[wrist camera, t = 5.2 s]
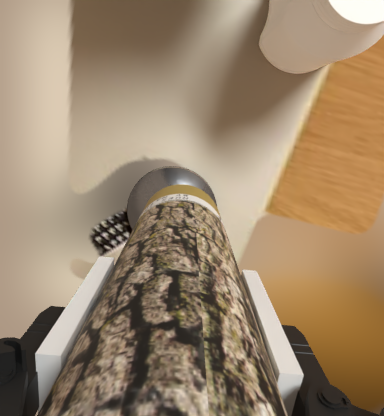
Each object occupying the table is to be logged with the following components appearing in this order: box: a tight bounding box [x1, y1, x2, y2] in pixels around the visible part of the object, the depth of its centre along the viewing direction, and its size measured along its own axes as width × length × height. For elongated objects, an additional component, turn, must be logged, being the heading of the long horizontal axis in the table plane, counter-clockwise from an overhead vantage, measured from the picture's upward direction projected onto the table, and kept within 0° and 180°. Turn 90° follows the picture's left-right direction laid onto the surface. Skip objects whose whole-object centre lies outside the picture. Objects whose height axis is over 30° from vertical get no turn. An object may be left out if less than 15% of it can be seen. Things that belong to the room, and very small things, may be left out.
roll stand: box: [127, 166, 217, 230], centre depth 36 cm, size 13×13×14 cm
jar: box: [259, 0, 384, 74], centre depth 29 cm, size 12×10×15 cm
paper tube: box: [37, 184, 288, 416], centre depth 14 cm, size 7×7×25 cm
